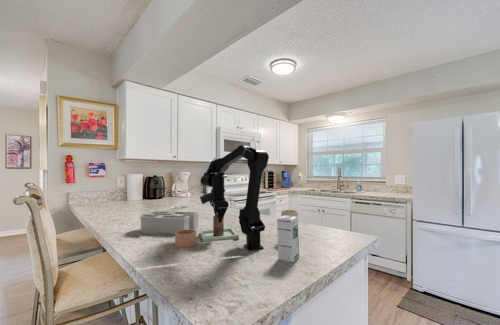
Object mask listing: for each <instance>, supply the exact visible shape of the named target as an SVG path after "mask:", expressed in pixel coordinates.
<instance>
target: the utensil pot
mask: <svg viewBox="0 0 500 325" xmlns="http://www.w3.org/2000/svg"><path fill="white" fill-rule="evenodd" d="M174 237H175V238H174V242H175V243H174V246H175V247H179V248H188V247H192V246H195V245H197V229H195V230H192V229H186V230H180V231H176V232H175V234H174Z"/></svg>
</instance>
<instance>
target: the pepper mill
mask: <svg viewBox="0 0 500 325" xmlns="http://www.w3.org/2000/svg"><path fill="white" fill-rule="evenodd" d="M224 217H225V216H224ZM224 217H223V220H222V222H221V223H219V221H218V215H217V213H216V215H215V214H214V215H213V222H212V226H213V227H212V230H213V236H214V237H219V236H224V229H225V227H224V225H225V224H224V223H225V222H224V220H225V219H224Z"/></svg>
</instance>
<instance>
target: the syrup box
mask: <svg viewBox="0 0 500 325" xmlns="http://www.w3.org/2000/svg"><path fill="white" fill-rule="evenodd" d="M276 226H277V228H276V229H277V231H276V232H277V236H276V237H277V259H278V260H279V261H282V262H283V261H284V262H288V263H294V262H295V261H296V260H297V259H298V258H299V257H300V243H299V241H300V240H299V216H298V217H296V216H282V215H281V216H280V217H277V218H276Z"/></svg>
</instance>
